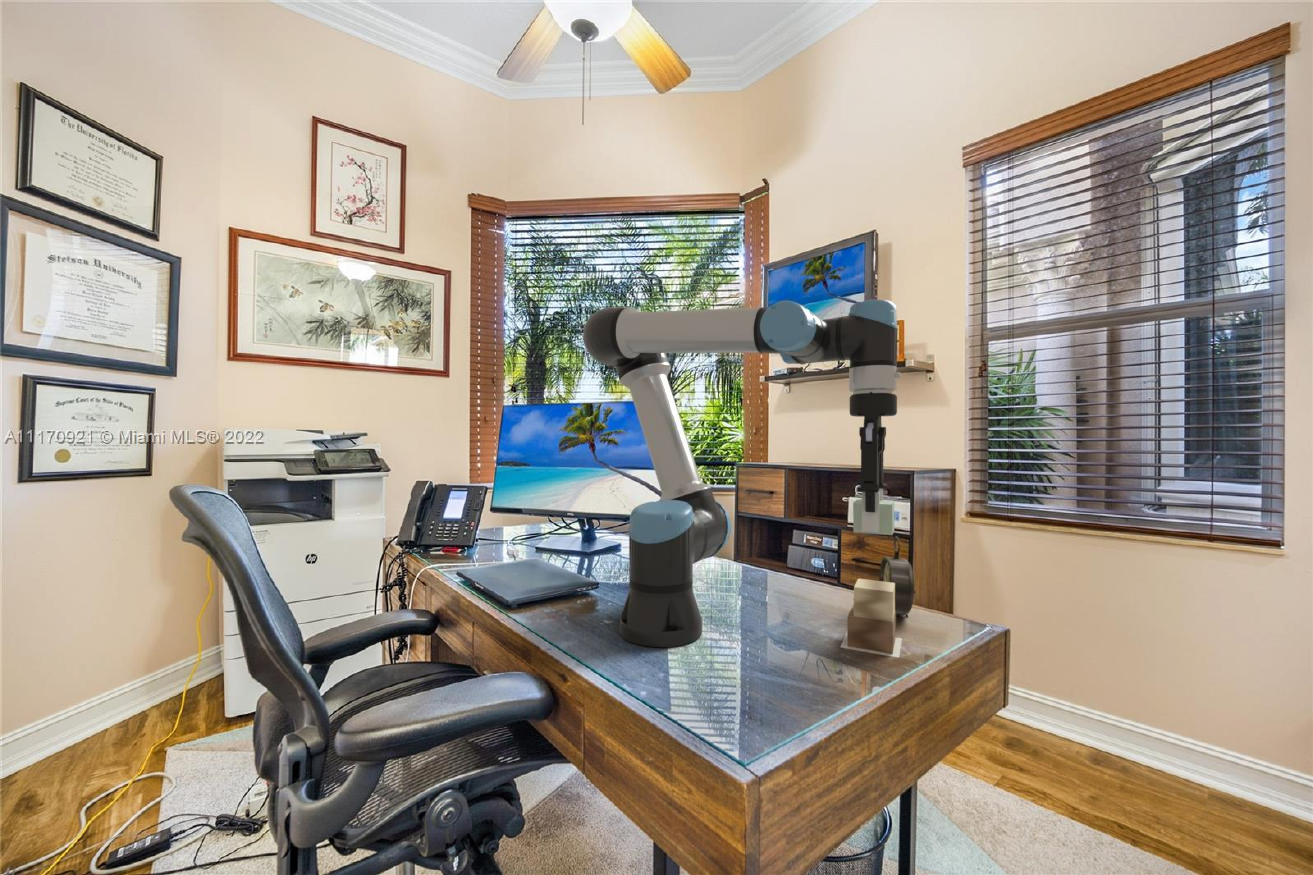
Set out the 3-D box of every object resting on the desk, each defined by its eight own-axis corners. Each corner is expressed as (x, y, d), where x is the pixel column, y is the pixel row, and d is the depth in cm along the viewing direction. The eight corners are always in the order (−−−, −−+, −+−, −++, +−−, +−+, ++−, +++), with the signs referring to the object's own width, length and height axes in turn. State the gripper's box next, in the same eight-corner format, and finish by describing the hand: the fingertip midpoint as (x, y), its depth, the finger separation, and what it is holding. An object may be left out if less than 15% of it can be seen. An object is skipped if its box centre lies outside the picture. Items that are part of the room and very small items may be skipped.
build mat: (840, 650, 89) (840, 647, 89) (847, 632, 97) (847, 629, 97) (899, 661, 85) (899, 657, 85) (902, 641, 93) (902, 638, 93)
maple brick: (853, 616, 89) (853, 587, 89) (858, 606, 95) (858, 578, 94) (892, 622, 86) (892, 592, 86) (894, 611, 92) (895, 582, 92)
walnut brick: (847, 646, 89) (847, 616, 89) (852, 632, 95) (853, 604, 95) (892, 654, 86) (892, 623, 86) (895, 639, 92) (895, 610, 92)
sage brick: (853, 532, 89) (853, 502, 89) (857, 527, 95) (857, 499, 95) (892, 535, 86) (892, 504, 87) (894, 529, 92) (894, 500, 92)
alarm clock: (877, 608, 110) (877, 531, 110) (905, 610, 109) (905, 532, 109) (887, 627, 100) (888, 541, 100) (918, 629, 99) (919, 542, 98)
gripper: (893, 387, 80) (893, 540, 81) (900, 396, 97) (899, 521, 97) (841, 389, 84) (841, 535, 84) (856, 397, 101) (856, 518, 101)
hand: (872, 528), depth 91 cm, fingers closed on sage brick, 6 cm apart
